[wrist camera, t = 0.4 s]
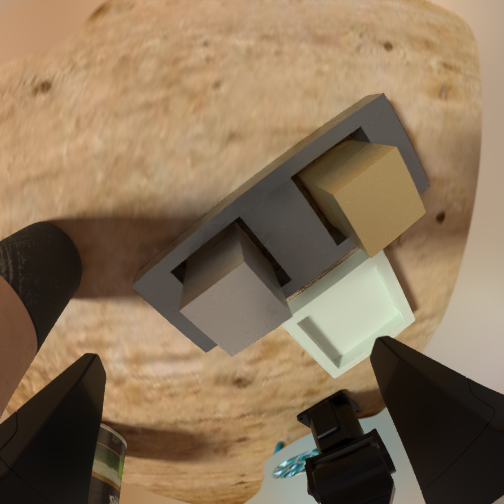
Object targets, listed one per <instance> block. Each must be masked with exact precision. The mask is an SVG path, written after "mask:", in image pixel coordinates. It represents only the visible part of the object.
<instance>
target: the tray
mask: <svg viewBox="0 0 504 504" xmlns="http://www.w3.org/2000/svg"><path fill="white" fill-rule="evenodd" d="M287 303H288V305H289V308H290V310H291V312H292V315H293V317H292V318H290V319H289V320H287V321H286V322H284V323H283V324H281V325H282V326H283V327H284V328H285V329H286V330H287V331H288V332H289V333H290V334H291V335H292V337H293V338H294V339H295V340H296V341H297V342H298V343H299V344H300V345H301V346H302V347H303V348H304V349H305V350H306V351H307V352H308V353H309V354H310V355H311V356H312V357H313V358H314V359H315V360H316V361H317V362H318V363H319V364H320V365H321V366H322V367H323V368H324V369H325V370H326V371H327V372H328V373H329V374H330V375H331V376H332V377H333V378H334V379H335V378H337V377H338V376H340V375H341V374H343V373H344V372H346V371H347V370H349V369H350V368H352V367H353V366H355V365H356V364H358V363H359V362H361V361H362V360H364V359H365V358H366V357H368V356H369V355H371V352H372V348H373V345H374V342H375V339H376V338H377V337H380V336H385V335H387V336H390V337H392V338H394V337H395V336H396V335H397V334H399V333H400V332H401V331H403V330H404V329H405V328H406V327H408V326H409V325H410V324H411V323H412V322H414V321H415V318H414V315H413V313H412V311H411V308H410V306H409V304H408V301H407V299H406V297H405V295H404V293H403V290H402V288H401V286H400V284H399V282H398V280H397V278H396V276H395V273H394V271H393V269H392V267H391V265H390V263H389V261H388V259H387V257H386V255H385V253H384V251H383V249H382V250H381V251H380V252H379V253H378V254H376V255H375V256H374V257H372V258H370V257H369V256H368V255H366V254H365V253H364V252H363V251H362V250H361V249H359V250H357V251H356V252H355V253H353V254H352V255H351V256H350V257H348V258H347V259H346V260H344V261H343V262H342V263H340V264H339V265H338V266H337V267H335V268H334V269H333V270H331V271H330V272H329V273H327V274H326V275H325V276H323V277H322V278H320V279H319V280H318V281H316V282H315V283H314V284H312V285H311V286H310V287H308V288H307V289H305V290H304V291H303V292H301V293H300V294H299V295H297V296H296V297H294V298H293V299H292V300H290V301H289V302H287Z"/></svg>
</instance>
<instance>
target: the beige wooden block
mask: <svg viewBox="0 0 504 504" xmlns="http://www.w3.org/2000/svg"><path fill="white" fill-rule="evenodd" d="M296 175H297V176H298V178H299V179H300V181H301V182H302V184H303V185H304V186H305V188H306V189H307V191H308V192H309V194H310V195H311V196H312V198H313V199H314V201H315V202H316V204H317V205H318V207H319V208H320V210H321V211H322V213H323V214H324V216H325V217H326V219H327V220H328V222H330V223H331V224H332V225H333V226H334V227H336V228H337V229H338V230H339V231H340V232H341V233H343V234H344V235H345V236H346V237H347V238H348V239H349V240H351V241H352V242H353V243H354V244H355V245H356V246H357V247H359V248H360V249H361V250H362V251H363V252H364V253H365V254H366V255H368V256H369V257H370V258H372V257H374V256H375V255H376V254H378V253H379V252H380V251H381V250H382V249H384V248H385V247H386V246H387V245H389V244H390V243H391V242H392V241H394V240H395V239H396V238H397V237H398V236H400V235H401V234H402V233H403V232H404V231H405V230H407V229H408V228H409V227H410V226H411V225H413V224H414V223H415V222H416V221H417V220H418V219H420V218H421V217H422V216H423V215H424V214H425V213H426V211H425V208H424V206H423V203H422V201H421V198H420V196H419V193H418V191H417V189H416V187H415V184H414V182H413V180H412V178H411V175H410V173H409V171H408V169H407V167H406V165H405V163H404V161H403V159H402V157H401V155H400V153H399V151H398V149H397V147H395V146H389V145H382V144H375V143H368V142H360V141H352V140H342V141H341V142H340V143H338V144H337V145H335V146H334V147H333V148H331V149H330V150H328V151H327V152H326V153H324V154H323V155H322V156H320V157H319V158H317V159H316V160H315V161H313V162H312V163H311V164H309V165H308V166H307V167H305V168H304V169H303V170H301V171H300V172H298V173H297V174H296Z"/></svg>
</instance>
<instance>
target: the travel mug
mask: <svg viewBox="0 0 504 504" xmlns="http://www.w3.org/2000/svg"><path fill="white" fill-rule="evenodd" d="M80 280H81V262H80V258H79V255H78V252H77V250H76V248H75V246H74V244H73V243H72V241H71V240H70V238H69V237H68V236H67V235H66V234H65V233H64V232H63V231H62V230H60V229H59V228H57V227H56V226H54V225H51V224H48V223H34V224H32V225H29V226H27V227H25V228H23V229H21V230H19V231H18V232H16V233H14V234H12V235H11V236H9V237H7V238H5V239H4V240H2V241H0V418H1V416H2V413H3V412H4V410H5V408H6V406H7V404H8V402H9V400H10V399H11V397H12V395H13V393H14V391H15V390H16V388H17V386H18V384H19V383H20V381H21V379H22V378H23V376H24V374H25V373H26V371H27V369H28V368H29V366H30V364H31V363H32V361H33V360H34V358H35V356H36V355H37V353H38V351H39V349H40V348H41V346H42V344H43V342H44V341H45V339H46V337H47V336H48V334H49V332H50V331H51V329H52V327H53V326H54V324H55V323H56V321H57V319H58V318H59V316H60V315H61V313H62V312H63V310H64V309H65V307H66V306H67V304H68V303H69V301H70V299H71V298H72V296H73V295H74V293H75V292H76V290H77V288H78V286H79V284H80Z"/></svg>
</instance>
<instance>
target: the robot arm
mask: <svg viewBox="0 0 504 504" xmlns="http://www.w3.org/2000/svg"><path fill="white" fill-rule="evenodd" d="M370 361H371V364H372V367H373V370H374V373H375V376H376V379H377V382H378V385H379V389H380V392H381V395H382V397H383V400H384V402H385V404H386V407H387V409H388V411H389V413H390V415H391V418H392V420H393V422H394V425H395V427H396V429H397V432H398V434H399V436H400V438H401V441H402V443H403V446H404V448H405V451H406V453H407V456H408V458H409V461H410V463H411V465H412V468H413V471H414V473H415V475H416V478H417V481H418V483H419V486H420V489H421V491H422V494H423V497H424V500H425V503H426V504H504V395H503V394H501V393H499V392H496V391H494V390H492V389H489V388H487V387H485V386H483V385H481V384H479V383H477V382H475V381H473V380H471V379H469V378H466V377H465V376H463V375H461V374H459V373H458V372H456V371H454V370H452V369H450V368H448V367H446V366H444V365H442V364H441V363H439V362H437V361H435V360H433V359H431V358H429V357H427V356H425V355H424V354H422V353H420V352H418V351H416V350H414V349H412V348H410V347H409V346H407V345H405V344H403V343H401V342H399V341H397V340H396V339H394V338H392V337H390V336H387V335H385V336H380V337H377V338H376V339H375V342H374V345H373V348H372V352H371V355H370ZM105 384H106V372H105V370H104V367H103V365H102V362H101V360H100V357H99V355H98V354H94V353H86V354H84V355H83V356H82V357H80V358H79V359H78V360H77V361H76V362H74V363H73V364H72V365H71V366H69V367H68V368H67V369H66V370H65V371H63V372H62V373H61V374H60V375H59V376H57V377H56V378H55V379H54V380H52V381H51V382H50V383H49V384H48V385H46V386H45V387H44V388H43V389H42V390H40V391H39V392H38V393H37V394H36V395H35V396H33V397H32V398H31V399H30V400H29V401H27V402H26V403H25V404H24V405H23V406H21V407H20V408H19V409H18V410H17V412H14V413H13V414H12V415H11V416H10V417H9V418H7V419H6V420H5V421H4V422H2V423H1V424H0V504H88V500H89V492H90V484H91V476H92V470H93V463H94V457H95V451H96V445H97V440H98V435H99V430H100V425H101V419H102V412H103V401H104V392H105ZM360 411H361V409H360V407H359V406H358V405H357V404H356V403H355V402H354V401H353V400H352V399H351V398H350V397H348V396H347V395H346V394H345V393H344V392H343V391H339V392H337V393H336V394H334V395H333V396H331V397H329V398H328V399H326V400H324V401H322V402H321V403H319V404H317V405H315V406H314V407H312V408H310V409H308V410H307V411H305V412H303V413H301V414H299V415H298V416H297V420H298V421H299V422H301V423H303V424H304V425H306V426H307V427H309V428H311V431H312V434H313V437H314V440H315V443H316V446H317V449H318V453H319V455H316V456H313V457H311V458H310V457H309V458H306V459H305V461H306V464H305V465H304V466H305V469H306V474H307V480H308V481H307V485H308V486H307V492H308V494H309V495H311V496H313V497H314V499H315V500H316V501H317V502H318V504H320V503H321V504H392V502H393V499H394V494H395V486H394V481H393V479H392V477H391V474H392V473H395V472H396V469H395V467H394V464H393V462H392V459H391V457H390V455H389V453H388V451H387V449H386V447H385V445H384V443H383V441H382V439H381V438H380V436H379V434H378V432H377V430H376V429H373V430H372V431H371V432H369V433H367V434H364V431H363V429H362V427H361V425H360V423H359V421H358V418H357V416H356V414H357V413H359V412H360Z"/></svg>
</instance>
